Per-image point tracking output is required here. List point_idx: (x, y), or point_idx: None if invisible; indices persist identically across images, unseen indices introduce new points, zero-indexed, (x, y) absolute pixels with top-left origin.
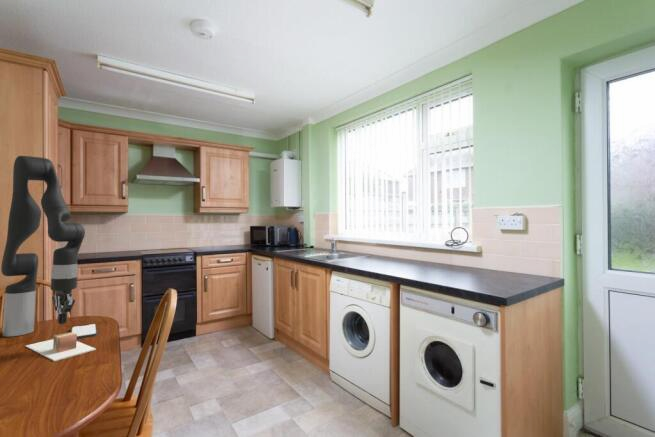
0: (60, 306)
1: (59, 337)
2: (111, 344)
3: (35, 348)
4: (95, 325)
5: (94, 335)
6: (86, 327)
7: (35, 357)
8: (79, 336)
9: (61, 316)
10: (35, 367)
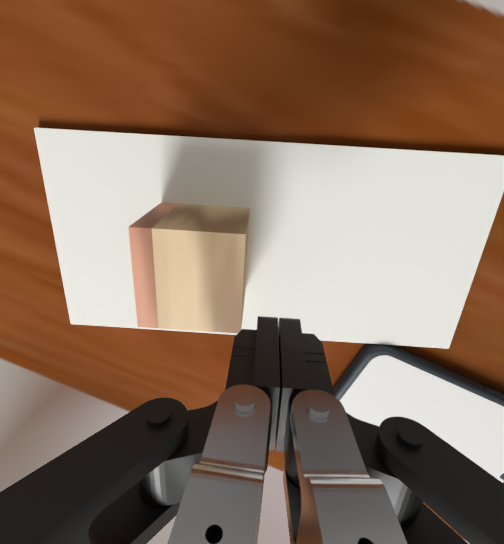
0: (183, 497)
1: (152, 234)
2: (101, 387)
3: (383, 163)
4: None
5: None
6: (469, 455)
7: (215, 97)
8: (351, 375)
9: (236, 373)
10: (6, 14)
